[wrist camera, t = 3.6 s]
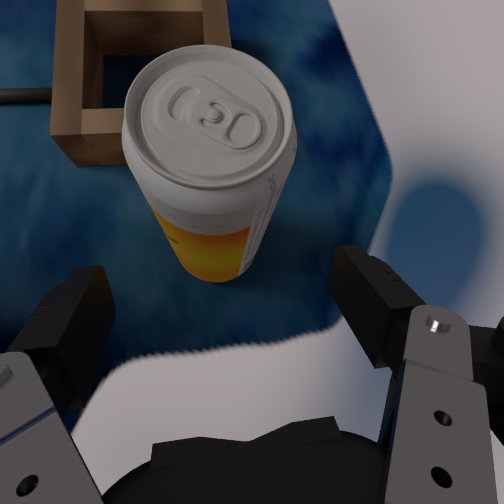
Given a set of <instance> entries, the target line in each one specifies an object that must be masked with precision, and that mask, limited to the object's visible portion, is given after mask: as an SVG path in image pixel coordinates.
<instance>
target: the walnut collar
mask: <svg viewBox="0 0 504 504" xmlns="http://www.w3.org/2000/svg"><path fill="white" fill-rule="evenodd" d="M194 45H217V46H223V47H228V48H232V46H231V39H230V31H229V23H228V15H227V7H226V0H57V14H56V32H55V51H54V69H53V88H15V89H0V103H8V102H45V101H52V106H51V124H50V136H51V137H52V138H53V140H54V141H55V142H56V143H57V144H58V146H59V147H60V148H61V149H62V150H63V151H64V153H65V154H66V155H67V156H68V157H69V159H70V160H71V161H72V162H73V163H74V164H75V166H76V167H80V166H100V165H119V164H128V163H127V161H126V158H125V155H124V151H123V147H122V126H123V121H124V108H109V109H103V56H115V55H163V54H165V53H167V52H170V51H172V50H175V49H179V48H182V47H187V46H194Z"/></svg>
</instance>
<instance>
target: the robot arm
mask: <svg viewBox="0 0 504 504" xmlns="http://www.w3.org/2000/svg"><path fill="white" fill-rule="evenodd" d="M330 291H331V295H332V297H333V299H334V301H335V303H336V304H337V306H338V308H339V309H340V311H341V313H342V314H343V316H344V318H345V319H346V321H347V323H348V324H349V326H350V328H351V329H352V331H353V333H354V335H355V336H356V338H357V339H358V341H359V343H360V345H361V346H362V348H363V350H364V351H365V353H366V355H367V356H368V358H369V360H370V361H371V363H372V365H373V366H374V368H375V369H376V368H382V367H383V368H384V367H390V369H391V370H392V376H391V379H390V384H389V389H388V394H387V399H386V404H385V409H384V414H383V419H382V424H381V429H380V434H379V437H378V441H377V442H374V441H372V440H370V439H368V438H366V437H363V436H361V435H357V434H354V433H350V432H346V431H340V430H339V428H338V426H337V423H336V421H335V418H334V416H330V417H324V418H317V419H311V420H304V421H298V422H291V423H289V424H287V425H285V426H283V427H280V428H278V429H276V430H274V431H271V432H270V433H267V434H265V435H263V436H260V437H258V438H256V439H254V440H251V441H235V440H226V439H217V438H207V437H194V438H188V439H181V440H175V441H168V442H162V443H155V444H153V446H152V454H151V460H150V461H148V462H146V463H144V464H142V465H140V466H139V467H137V468H135V469H133V470H132V471H130V472H129V473H127V474H126V475H125V476H123V477H122V478H121V479H119V480H118V481H117V482H116V483H115V484H114V485H113V486H111V487H110V488H109V489H108V490H107V491H106V492H105V493H104V494H103V495H101V493H100V491H99V489H98V487H97V485H96V484H95V481H94V480H93V478H92V476H91V474H90V472H89V470H88V468H87V466H86V464H85V462H84V460H83V458H82V456H81V454H80V453H79V450H78V448H77V446H76V445H75V443H74V441H73V439H72V437H71V435H70V433H69V431H68V429H67V427H66V425H65V423H64V419H65V416H66V414H67V411H68V410H69V409H77V408H84V407H85V405H86V402H87V399H88V396H89V393H90V390H91V387H92V384H93V382H94V379H95V376H96V373H97V370H98V367H99V364H100V361H101V358H102V355H103V352H104V349H105V346H106V344H107V341H108V338H109V335H110V332H111V329H112V326H113V323H114V320H115V303H114V300H113V296H112V293H111V290H110V286H109V283H108V280H107V276H106V273H105V270H104V268H103V267H102V266H101V265H99V266H87V267H77V268H75V269H74V270H73V272H72V274H71V275H70V277H69V278H68V280H67V281H66V283H65V284H59V285H58V286H56V287H55V288H54V289H52V290H51V291H50V292H48V293H47V294H46V295H45V296H44V298H43V299H42V301H41V302H40V303H39V305H38V308H37V309H35V311H34V312H33V314H32V315H31V318H30V319H28V321H27V322H26V324H25V325H24V327H23V328H22V329H21V331H20V332H19V334H18V335H17V337H16V338H15V340H14V341H13V342H12V344H11V345H10V347H9V348H8V350H7V351H6V353H3V354H0V504H498V501H497V492H496V483H495V473H494V464H493V454H492V445H491V435H490V429H491V430H492V431H493V433H494V434H495V435H496V437H497V438H498V439H499V441H500V442H501V443H502V445H503V446H504V317H502V319H501V320H500V322H499V324H498V326H497V328H488V327H479V326H471V325H468V324H467V323H466V321H465V320H464V319H463V318H462V317H460V316H459V315H458V314H456V313H455V312H453V311H451V310H448V309H446V308H443V307H440V306H435V305H427V304H426V303H425V302H424V301H423V300H422V299H421V298H420V297H419V296H418V295H417V294H416V293H415V292H414V291H413V290H412V289H411V288H410V287H409V286H408V285H407V284H406V283H405V282H404V281H402V279H401V278H400V277H399V276H398V275H397V274H396V273H395V272H394V271H393V270H392V269H391V267H390V266H388V265H387V263H385V262H383V261H382V260H380V259H378V258H376V257H374V256H369V255H368V254H367V253H366V251H365V250H364V249H363V248H362V247H361V246H360V245H359V244H349V245H338V246H336V247H335V249H334V254H333V261H332V268H331V276H330Z"/></svg>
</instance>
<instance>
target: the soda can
mask: <svg viewBox="0 0 504 504" xmlns="http://www.w3.org/2000/svg"><path fill="white" fill-rule="evenodd" d="M122 147H123V151H124V155H125V158H126V161H127V163H128V166H129V168H130V170H131V171H132V173H133V175H134V177H135V179H136V181H137V183H138V184H139V186H140V188H141V190H142V192H143V194H144V196H145V197H146V199H147V201H148V203H149V205H150V207H151V209H152V210H153V212H154V214H155V216H156V218H157V220H158V221H159V223H160V225H161V227H162V229H163V231H164V233H165V234H166V236H167V238H168V240H169V242H170V244H171V246H172V247H173V249H174V251H175V253H176V255H177V257H178V259H179V260H180V262H181V264H182V265H183V267H184V268H185V269H186V270H187V271H188V272H189V273H190V274H191V275H193V276H195V277H196V278H198V279H201V280H204V281H207V282H225V281H229V280H232V279H234V278H236V277H238V276H239V275H241V274H242V273H243V272H245V271H246V270H247V269H248V267H249V266H250V265H251V263H252V261H253V259H254V257H255V255H256V252H257V250H258V247H259V245H260V242H261V240H262V238H263V235H264V233H265V230H266V228H267V226H268V223H269V221H270V218H271V216H272V213H273V211H274V209H275V206H276V204H277V201H278V199H279V196H280V194H281V192H282V189H283V187H284V184H285V182H286V180H287V177H288V175H289V172H290V170H291V167H292V165H293V163H294V159H295V155H296V149H297V134H296V127H295V123H294V120H293V113H292V106H291V103H290V99H289V96H288V94H287V92H286V90H285V88H284V86H283V84H282V83H281V82H280V80H279V79H278V77H277V76H276V75H275V74H274V73H273V72H272V71H271V70H270V69H269V68H268V67H267V66H265V65H264V64H263V63H261V62H260V61H259V60H257V59H255V58H254V57H252V56H250V55H248V54H246V53H243V52H241V51H238V50H235V49H232V48H228V47H223V46H217V45H194V46H187V47H182V48H179V49H175V50H172V51H170V52H167V53H165V54H163V55H161V56H159V57H158V58H156V59H154V60H153V61H152V62H150V63H149V64H148V65H147V66H146V67H144V68H143V69H142V70H141V72H140V73H139V74H138V75H137V76H136V78H135V79H134V81H133V82H132V84H131V86H130V88H129V90H128V94H127V97H126V101H125V106H124V121H123V126H122Z"/></svg>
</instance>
